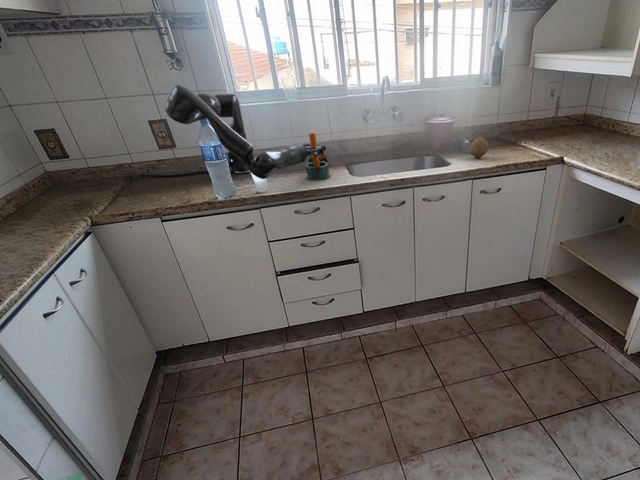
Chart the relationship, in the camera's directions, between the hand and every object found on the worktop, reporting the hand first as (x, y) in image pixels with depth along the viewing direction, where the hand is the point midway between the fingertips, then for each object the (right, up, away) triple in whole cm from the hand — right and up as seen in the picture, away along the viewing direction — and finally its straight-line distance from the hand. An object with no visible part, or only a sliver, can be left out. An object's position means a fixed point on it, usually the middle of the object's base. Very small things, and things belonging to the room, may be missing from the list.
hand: (317, 146), depth 169 cm
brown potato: (+76, +3, +24) cm, 80 cm away
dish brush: (-1, -11, +5) cm, 12 cm away
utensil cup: (0, -11, +6) cm, 13 cm away
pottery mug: (-3, -2, +20) cm, 20 cm away
